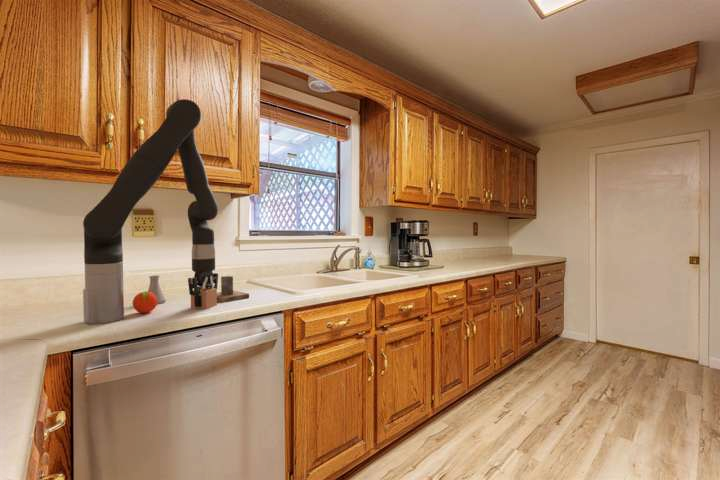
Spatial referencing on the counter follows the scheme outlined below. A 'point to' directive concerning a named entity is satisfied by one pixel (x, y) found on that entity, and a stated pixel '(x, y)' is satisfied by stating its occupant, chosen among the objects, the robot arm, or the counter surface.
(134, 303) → the red tomato
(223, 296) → the post base
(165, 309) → the counter surface
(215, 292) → the collar
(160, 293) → the flask
